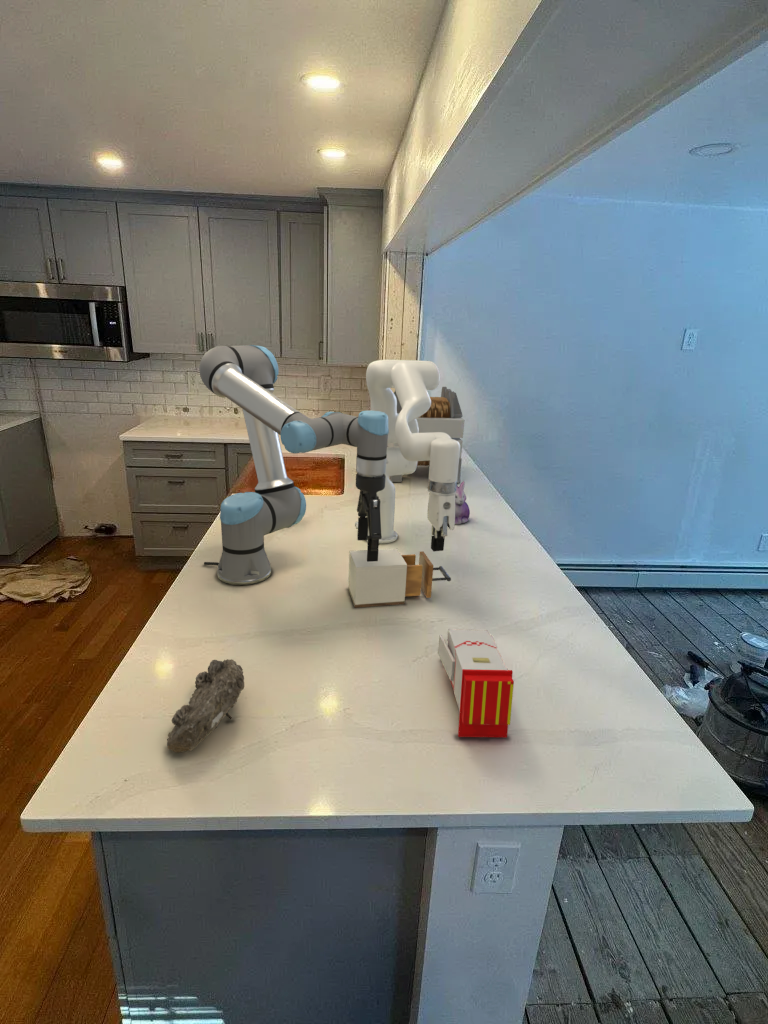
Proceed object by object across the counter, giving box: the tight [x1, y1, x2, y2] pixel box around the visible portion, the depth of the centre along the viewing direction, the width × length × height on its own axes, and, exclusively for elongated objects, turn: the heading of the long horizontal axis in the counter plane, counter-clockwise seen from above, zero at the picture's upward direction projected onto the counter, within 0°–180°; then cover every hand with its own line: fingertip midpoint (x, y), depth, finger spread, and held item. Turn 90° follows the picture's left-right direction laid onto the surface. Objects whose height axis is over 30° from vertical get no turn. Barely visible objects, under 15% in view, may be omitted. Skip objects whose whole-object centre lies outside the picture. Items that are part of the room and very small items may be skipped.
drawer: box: [401, 550, 452, 599], centre depth 156 cm, size 18×9×10 cm, turn 103°
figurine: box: [454, 481, 471, 525], centre depth 212 cm, size 9×10×15 cm
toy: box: [437, 628, 515, 738], centre depth 117 cm, size 12×13×30 cm
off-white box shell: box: [347, 548, 407, 609], centre depth 154 cm, size 14×11×12 cm
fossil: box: [166, 658, 245, 754], centre depth 106 cm, size 22×10×15 cm
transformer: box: [387, 386, 465, 484], centre depth 268 cm, size 34×33×41 cm
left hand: (367, 549), depth 151 cm, fingers open, 13 cm apart
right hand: (437, 549), depth 155 cm, fingers closed
